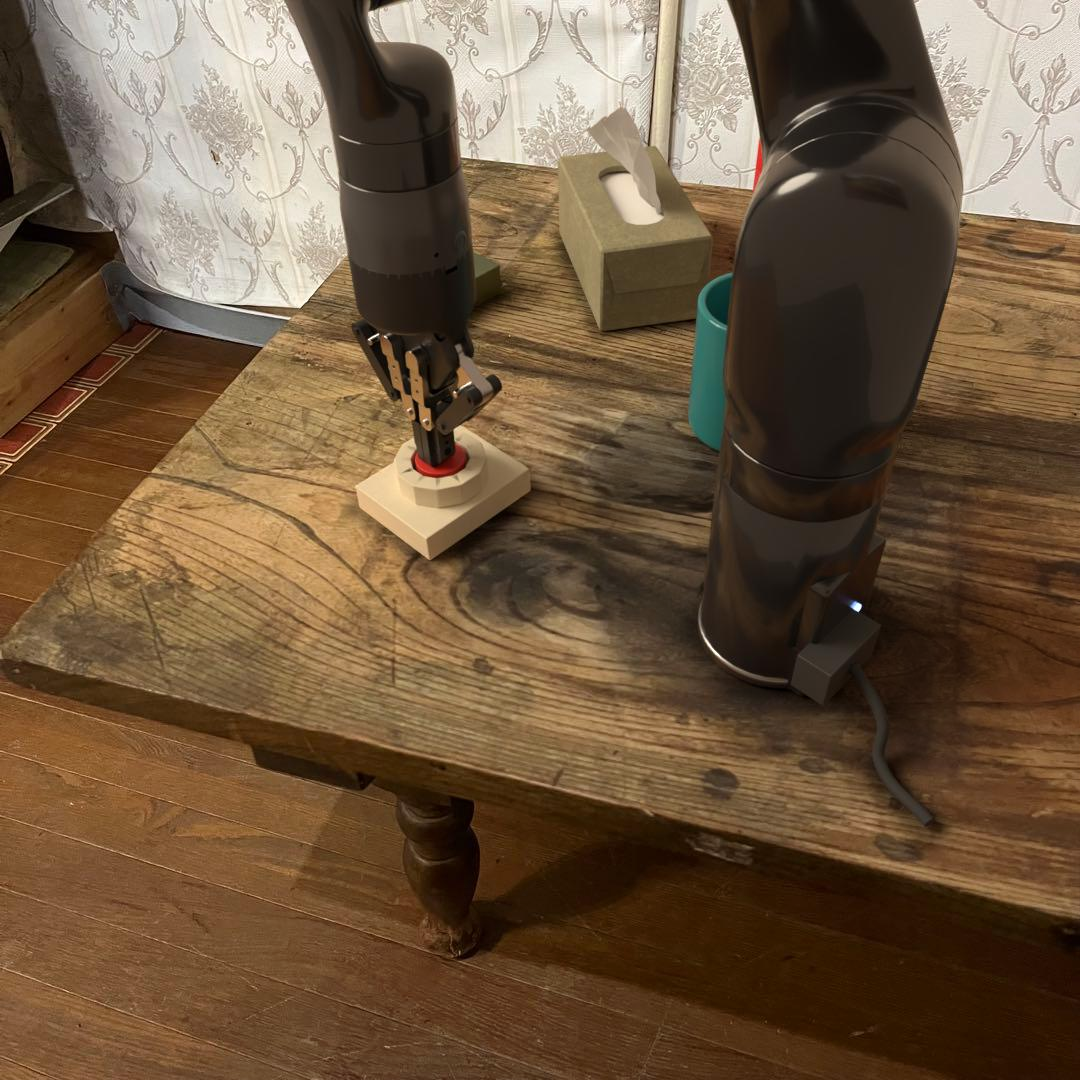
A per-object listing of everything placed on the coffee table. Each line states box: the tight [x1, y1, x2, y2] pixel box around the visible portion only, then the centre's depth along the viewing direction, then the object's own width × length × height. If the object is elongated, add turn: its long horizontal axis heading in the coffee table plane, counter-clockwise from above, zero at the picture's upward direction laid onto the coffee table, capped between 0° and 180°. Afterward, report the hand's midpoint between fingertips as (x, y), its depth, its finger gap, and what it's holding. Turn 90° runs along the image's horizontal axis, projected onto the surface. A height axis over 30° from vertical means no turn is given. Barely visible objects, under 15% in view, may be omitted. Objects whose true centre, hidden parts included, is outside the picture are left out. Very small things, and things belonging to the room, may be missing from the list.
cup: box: [687, 271, 733, 453], centre depth 77 cm, size 9×12×11 cm
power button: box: [415, 444, 466, 478], centre depth 75 cm, size 4×4×2 cm
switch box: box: [354, 425, 532, 561], centre depth 76 cm, size 8×10×4 cm
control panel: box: [473, 251, 502, 309], centre depth 96 cm, size 10×8×3 cm
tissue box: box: [557, 106, 714, 332], centre depth 93 cm, size 19×10×16 cm, turn 11°
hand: (436, 458), depth 74 cm, fingers closed
